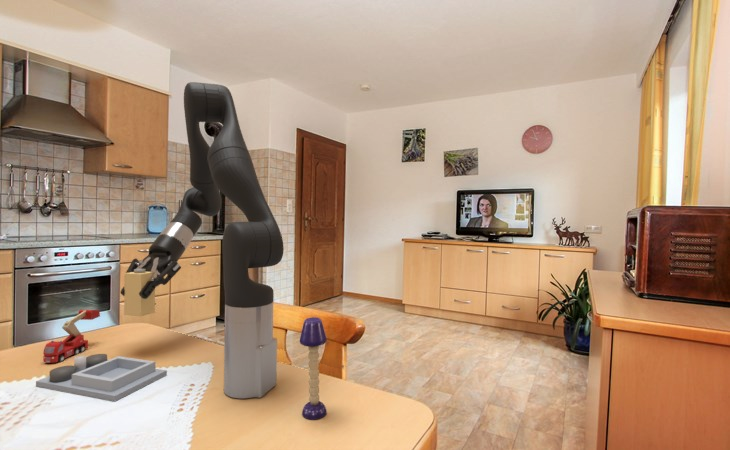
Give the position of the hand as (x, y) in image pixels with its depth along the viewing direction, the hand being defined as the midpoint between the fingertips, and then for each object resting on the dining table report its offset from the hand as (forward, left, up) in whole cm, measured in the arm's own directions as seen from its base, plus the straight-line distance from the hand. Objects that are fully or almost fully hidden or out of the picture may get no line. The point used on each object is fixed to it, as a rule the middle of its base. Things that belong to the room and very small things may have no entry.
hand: (133, 295), depth 88 cm
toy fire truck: (+16, +2, -15) cm, 22 cm away
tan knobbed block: (0, -2, -5) cm, 5 cm away
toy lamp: (-51, +10, -15) cm, 54 cm away
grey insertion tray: (-5, +11, -15) cm, 19 cm away
